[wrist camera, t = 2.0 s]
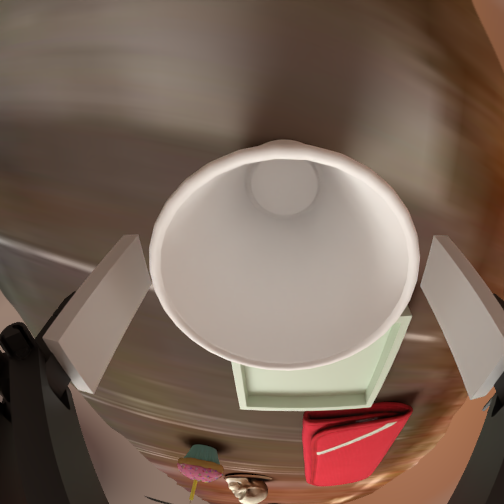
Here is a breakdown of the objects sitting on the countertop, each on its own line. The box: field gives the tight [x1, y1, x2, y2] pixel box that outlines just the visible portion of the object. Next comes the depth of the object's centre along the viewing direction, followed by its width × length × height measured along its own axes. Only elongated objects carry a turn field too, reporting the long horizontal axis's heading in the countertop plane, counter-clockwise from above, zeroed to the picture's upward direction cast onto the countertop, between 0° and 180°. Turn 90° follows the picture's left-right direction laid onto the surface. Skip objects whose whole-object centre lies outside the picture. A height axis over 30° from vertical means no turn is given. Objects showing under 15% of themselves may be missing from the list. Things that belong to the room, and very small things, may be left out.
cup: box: [149, 139, 420, 371], centre depth 15 cm, size 10×10×11 cm
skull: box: [224, 475, 272, 504], centre depth 57 cm, size 12×10×10 cm
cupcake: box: [177, 444, 224, 503], centre depth 42 cm, size 9×8×12 cm
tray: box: [231, 304, 412, 411], centre depth 28 cm, size 16×16×2 cm
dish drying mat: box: [302, 402, 413, 486], centre depth 43 cm, size 16×41×4 cm, turn 10°
